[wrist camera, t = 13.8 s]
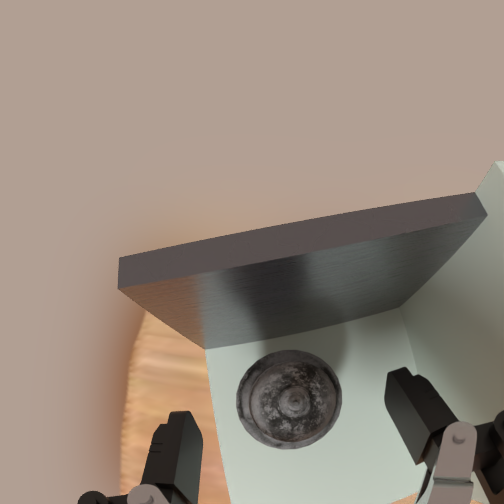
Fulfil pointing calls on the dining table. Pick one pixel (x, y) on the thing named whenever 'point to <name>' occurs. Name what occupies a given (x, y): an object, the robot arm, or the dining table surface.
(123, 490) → the dining table surface
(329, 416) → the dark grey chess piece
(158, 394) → the dining table surface
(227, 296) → the shelf
